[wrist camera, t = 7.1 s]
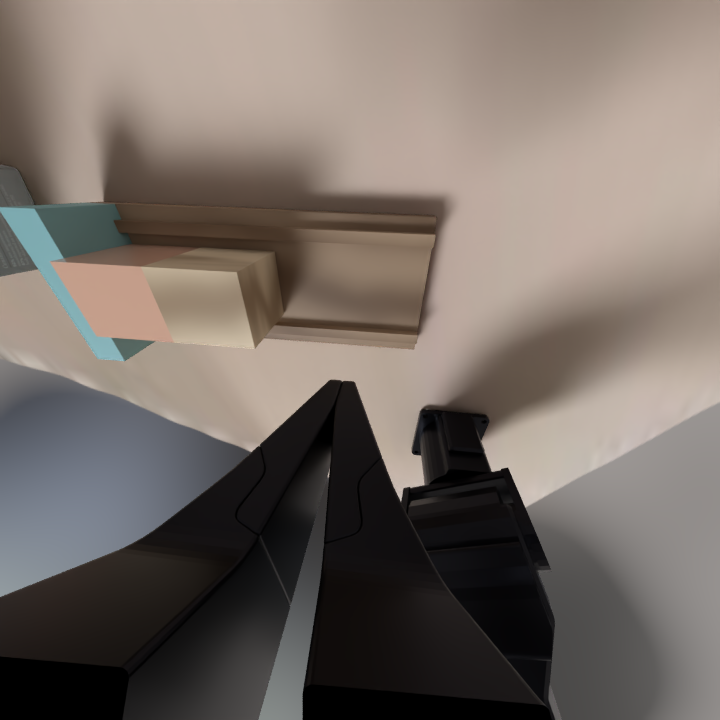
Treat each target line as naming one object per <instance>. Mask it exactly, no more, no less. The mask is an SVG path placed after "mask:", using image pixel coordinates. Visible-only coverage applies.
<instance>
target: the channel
mask: <svg viewBox="0 0 720 720" xmlns="http://www.w3.org/2000/svg"><path fill="white" fill-rule="evenodd" d="M91 203H103V204H115V206H116V208H117V210H118V213H119V215H120V217H121V219H120V220H113V221H114V223H115V225H116V228H117V230H118V232H119V233H128V235H129V238H130V240H131V242H132V244H144V245H163V246H182V247H201V248H220V249H240V250H259V251H275V257H276V264H277V270H278V277H279V284H280V290H281V297H282V304H283V310H284V315H283V316H282V317H281V318H280V319H279V321H278V322H277V323H276V324H275V325H274V327H273V328H272V329H271V330H270V331H269V332H268V334H267V335H266V336H265V337H264V338H267V339H281V340H294V341H308V342H321V343H334V344H348V345H361V346H375V347H388V348H401V349H414V347H415V344H416V343H417V338H418V333H417V330H418V324H419V318H420V313H421V307H422V301H423V295H424V290H425V284H426V278H427V272H428V266H429V261H430V255H431V249H432V248H434V242H435V236H436V235H435V234H434V232H435V226H436V220H437V217H436V216H434V215H409V214H385V213H361V212H336V211H312V210H288V209H263V208H239V207H215V206H190V205H166V204H142V203H118V202H91Z"/></svg>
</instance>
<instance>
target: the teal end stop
mask: <svg viewBox="0 0 720 720" xmlns="http://www.w3.org/2000/svg"><path fill="white" fill-rule="evenodd" d="M0 212H1V213H2V215H3V216H4V218H5V219H6V221H7V223H8V224H9V226H10V227H11V229H12V230H13V232H14V233H15V235H16V236H17V238H18V239H19V241H20V242H21V244H22V245H23V247H24V248H25V250H26V251H27V253H28V254H29V256H30V257H31V259H32V260H33V262H34V263H35V265H36V266H37V268H38V269H39V271H40V272H41V274H42V275H43V277H44V278H45V280H46V281H47V283H48V284H49V286H50V287H51V289H52V291H53V292H54V294H55V295H56V297H57V298H58V300H59V301H60V303H61V304H62V306H63V307H64V309H65V310H66V312H67V313H68V315H69V316H70V318H71V319H72V321H73V322H74V324H75V325H76V327H77V328H78V330H79V331H80V333H81V334H82V336H83V337H84V339H85V340H86V342H87V343H88V345H89V346H90V348H91V349H92V351H93V352H94V354H95V355H96V357H97V358H98V359H106V360H118V361H126V360H127V359H129V358H130V357H132V356H133V355H135V354H136V353H138V352H139V351H141V350H142V349H144V348H146V347H147V346H149V345H150V344H152V343H153V342H155V341H148V340H136V339H123V338H110V337H97V336H96V335H95V333H94V332H93V330H92V328H91V327H90V325H89V324H88V322H87V320H86V319H85V317H84V316H83V314H82V312H81V311H80V309H79V308H78V306H77V304H76V303H75V301H74V300H73V298H72V296H71V295H70V293H69V292H68V290H67V288H66V287H65V285H64V284H63V282H62V281H61V279H60V277H59V276H58V274H57V273H56V271H55V269H54V268H53V266H52V265H51V263H50V261H54V260H58V259H63V258H68V257H72V256H77V255H82V254H86V253H91V252H95V251H100V250H105V249H109V248H114V247H119V246H123V245H128V244H132V242H131V240H130V238H129V235H128V233H119V232H118V230H117V228H116V225H115V223H114V221H113V220H120V219H121V217H120V215H119V213H118V210H117V208H116V206H115V204H103V203H70V204H50V205H30V206H10V207H0Z"/></svg>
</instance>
